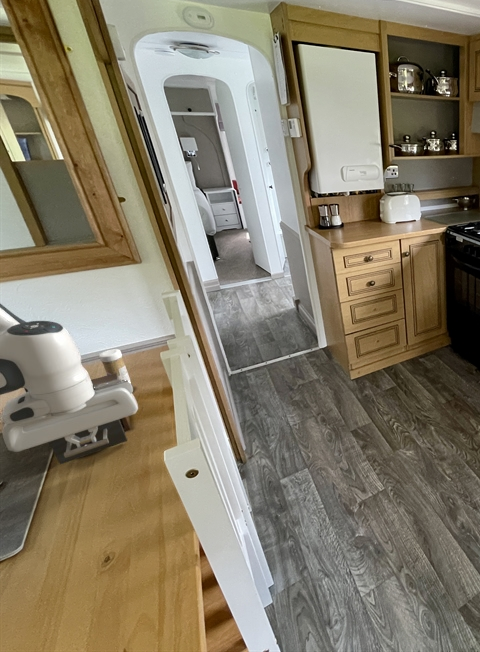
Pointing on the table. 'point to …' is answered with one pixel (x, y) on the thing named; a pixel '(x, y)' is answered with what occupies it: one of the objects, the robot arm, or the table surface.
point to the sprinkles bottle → (114, 364)
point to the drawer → (104, 439)
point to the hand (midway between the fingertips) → (87, 444)
